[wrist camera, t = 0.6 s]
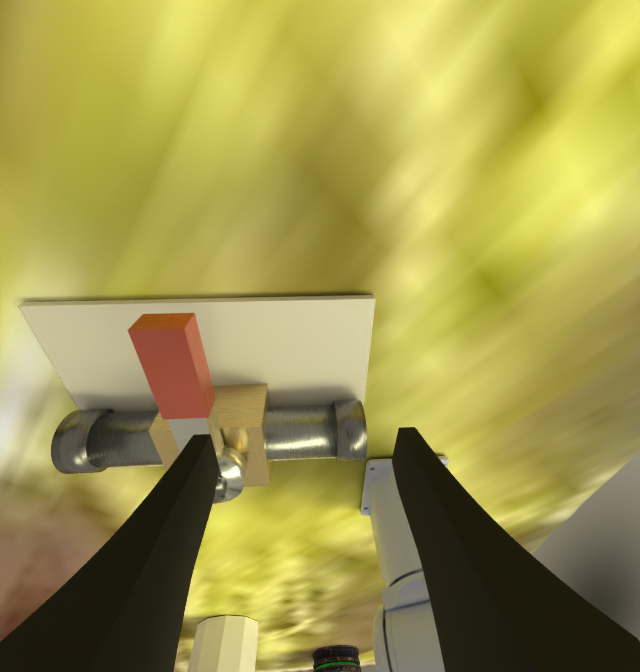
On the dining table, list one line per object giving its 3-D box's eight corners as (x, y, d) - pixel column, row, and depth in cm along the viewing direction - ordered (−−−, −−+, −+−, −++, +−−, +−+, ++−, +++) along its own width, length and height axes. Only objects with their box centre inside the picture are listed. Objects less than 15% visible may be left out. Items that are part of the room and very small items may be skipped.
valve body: (353, 431, 27) (362, 480, 23) (111, 441, 26) (76, 494, 22) (358, 375, 23) (370, 422, 19) (79, 384, 22) (31, 435, 18)
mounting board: (357, 451, 28) (358, 456, 28) (116, 462, 27) (113, 467, 27) (373, 294, 20) (375, 298, 19) (25, 301, 19) (17, 306, 18)
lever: (250, 481, 22) (245, 510, 20) (188, 484, 21) (178, 514, 20) (216, 312, 14) (204, 334, 13) (121, 314, 14) (95, 337, 12)
